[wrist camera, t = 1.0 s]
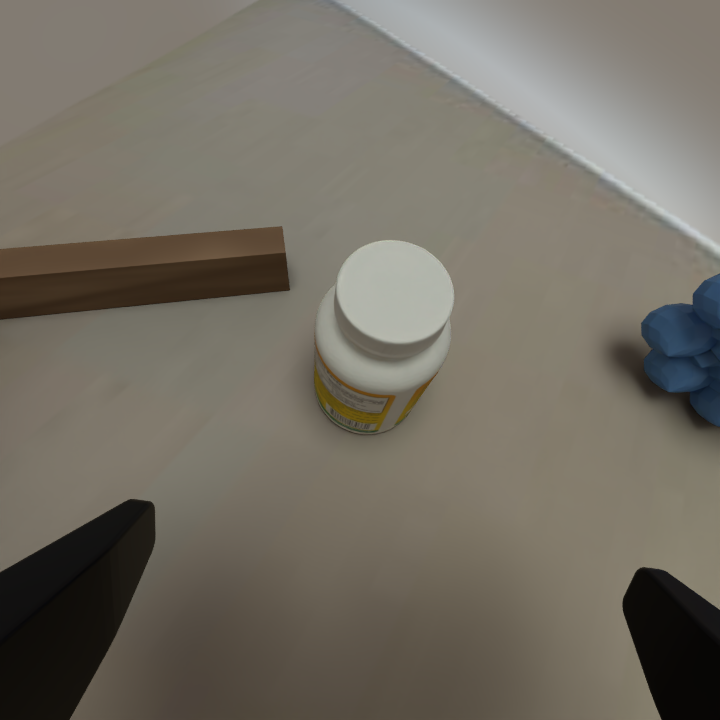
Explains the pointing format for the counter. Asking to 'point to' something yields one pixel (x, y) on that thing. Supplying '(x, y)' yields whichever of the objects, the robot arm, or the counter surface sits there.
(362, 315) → the supplement bottle
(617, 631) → the counter surface
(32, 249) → the walnut corner walls
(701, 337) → the blue knobby flower
